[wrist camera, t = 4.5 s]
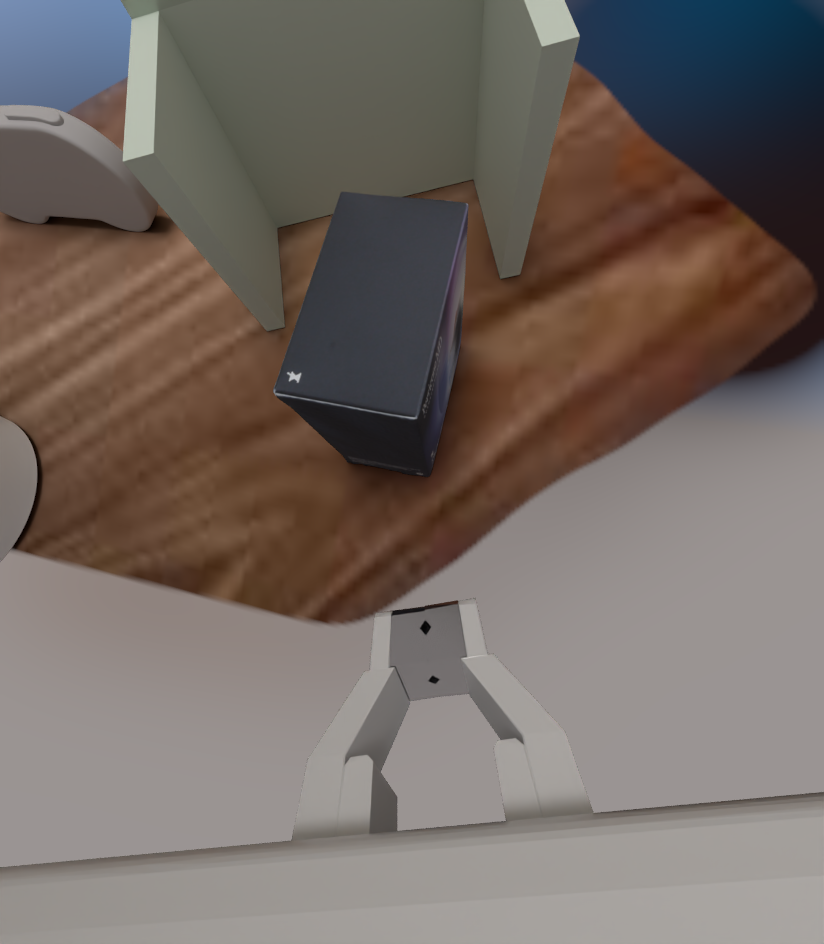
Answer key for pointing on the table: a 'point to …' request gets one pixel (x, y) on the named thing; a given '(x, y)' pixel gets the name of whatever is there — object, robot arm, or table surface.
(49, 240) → the table surface
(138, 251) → the table surface
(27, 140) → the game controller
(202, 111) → the rack
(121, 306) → the table surface
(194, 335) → the table surface
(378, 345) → the small box
